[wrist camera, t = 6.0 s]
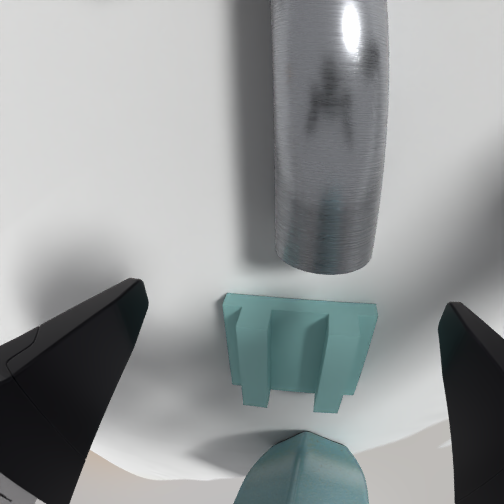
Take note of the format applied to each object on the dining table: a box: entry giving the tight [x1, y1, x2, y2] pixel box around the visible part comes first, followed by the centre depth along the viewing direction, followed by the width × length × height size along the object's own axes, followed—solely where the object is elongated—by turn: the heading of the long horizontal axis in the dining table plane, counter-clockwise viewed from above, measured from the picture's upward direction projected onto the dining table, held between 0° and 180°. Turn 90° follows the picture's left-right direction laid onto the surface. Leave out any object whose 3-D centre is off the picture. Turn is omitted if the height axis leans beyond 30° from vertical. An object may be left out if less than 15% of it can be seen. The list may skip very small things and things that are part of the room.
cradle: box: [223, 293, 378, 413], centre depth 17 cm, size 8×7×2 cm
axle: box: [270, 0, 389, 275], centre depth 9 cm, size 4×14×4 cm, turn 2°
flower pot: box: [234, 432, 369, 504], centre depth 21 cm, size 9×9×9 cm
